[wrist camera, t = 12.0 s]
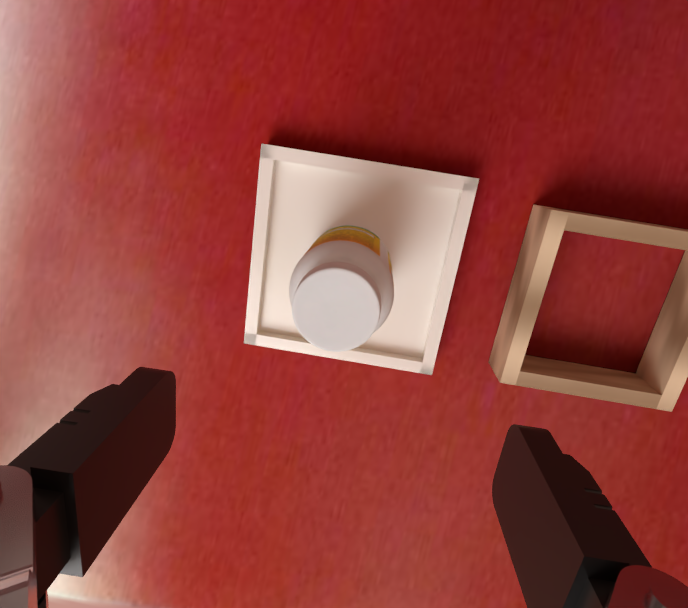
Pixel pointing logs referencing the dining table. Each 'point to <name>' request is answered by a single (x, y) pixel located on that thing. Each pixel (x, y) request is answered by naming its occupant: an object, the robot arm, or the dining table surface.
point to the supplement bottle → (342, 288)
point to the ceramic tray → (375, 215)
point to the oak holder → (577, 379)
